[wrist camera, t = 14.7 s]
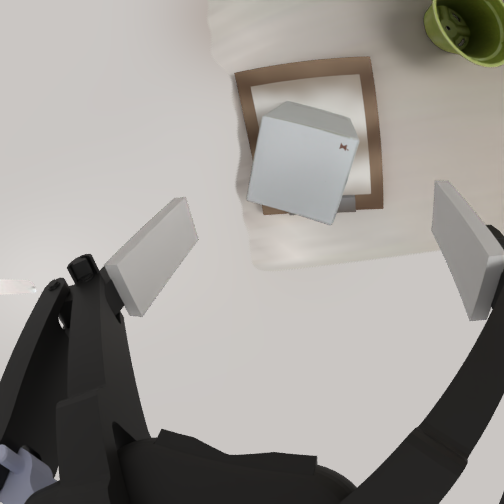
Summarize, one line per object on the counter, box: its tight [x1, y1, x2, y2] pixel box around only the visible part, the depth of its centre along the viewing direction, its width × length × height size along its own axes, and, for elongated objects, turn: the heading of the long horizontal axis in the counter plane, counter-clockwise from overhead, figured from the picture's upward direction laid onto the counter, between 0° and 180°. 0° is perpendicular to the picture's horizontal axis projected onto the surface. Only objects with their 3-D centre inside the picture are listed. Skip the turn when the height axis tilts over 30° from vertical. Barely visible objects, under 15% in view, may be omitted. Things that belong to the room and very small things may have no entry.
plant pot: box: [424, 0, 504, 67], centre depth 18 cm, size 9×9×9 cm
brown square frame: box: [235, 57, 383, 215], centre depth 32 cm, size 18×15×2 cm
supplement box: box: [247, 101, 360, 225], centre depth 27 cm, size 7×7×13 cm
